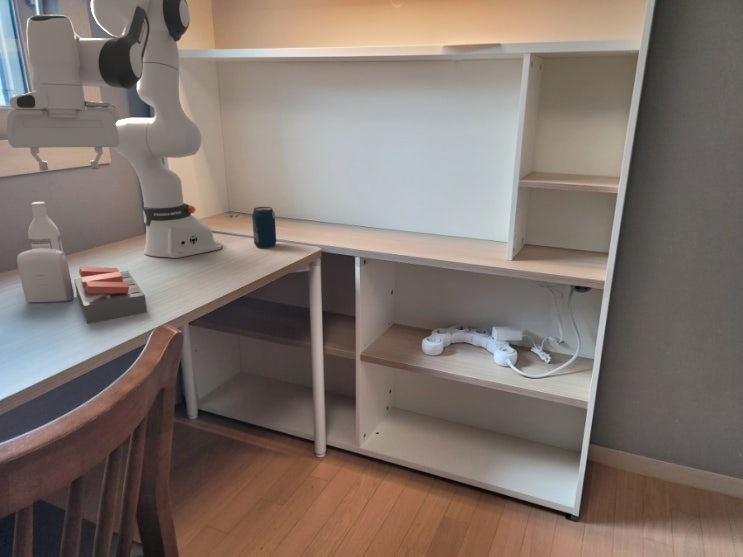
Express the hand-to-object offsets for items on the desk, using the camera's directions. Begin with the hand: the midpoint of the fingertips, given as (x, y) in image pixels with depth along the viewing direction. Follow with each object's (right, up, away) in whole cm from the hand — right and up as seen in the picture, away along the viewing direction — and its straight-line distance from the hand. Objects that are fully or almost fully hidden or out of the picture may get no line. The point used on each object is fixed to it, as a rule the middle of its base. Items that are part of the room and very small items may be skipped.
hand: (70, 169), depth 115 cm
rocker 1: (-1, -23, +14) cm, 27 cm away
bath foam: (-19, -23, +27) cm, 40 cm away
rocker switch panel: (+3, -29, +11) cm, 31 cm away
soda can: (+30, -13, +58) cm, 66 cm away
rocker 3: (+6, -26, +4) cm, 27 cm away
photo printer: (-12, -28, +13) cm, 33 cm away
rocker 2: (+2, -24, +9) cm, 26 cm away
